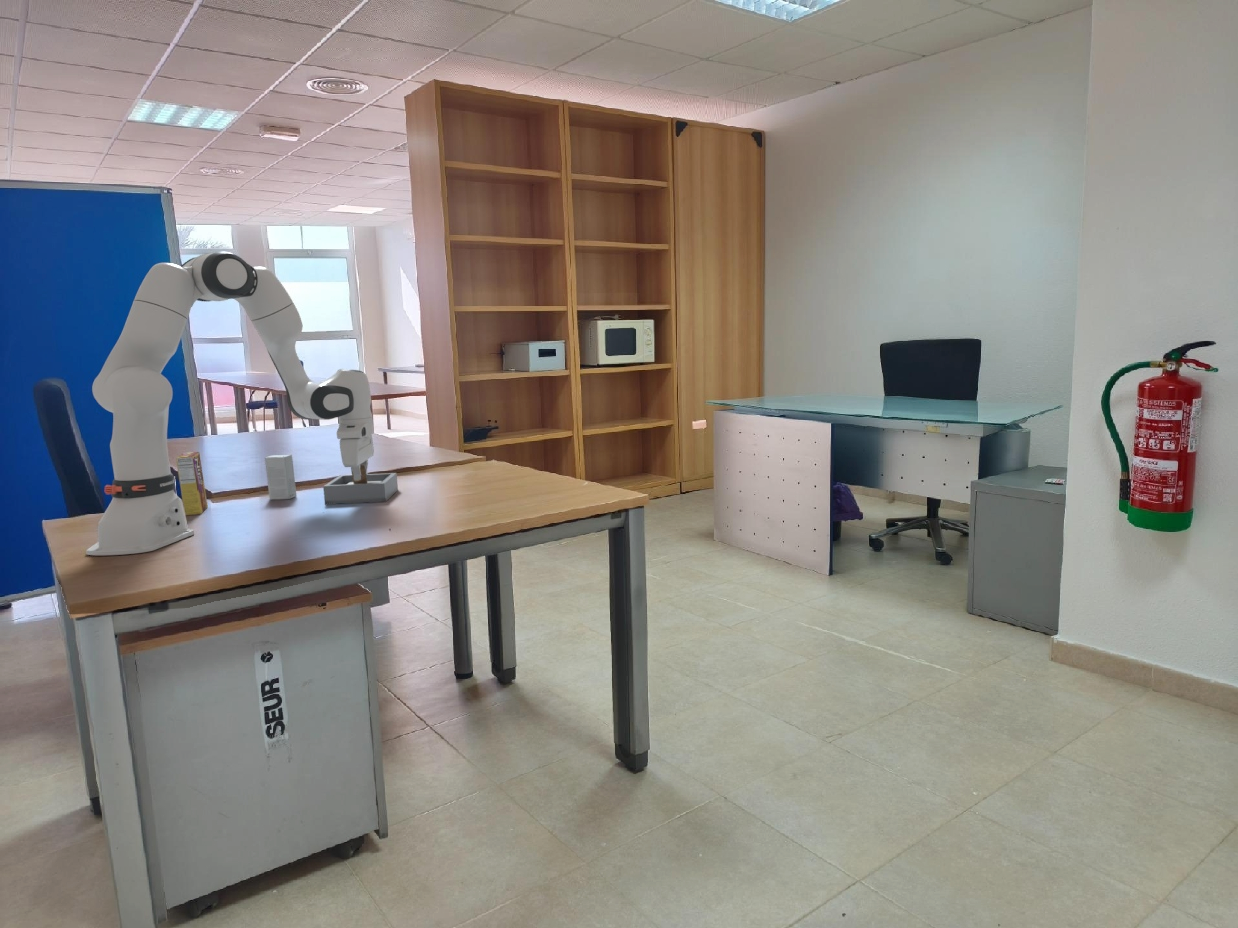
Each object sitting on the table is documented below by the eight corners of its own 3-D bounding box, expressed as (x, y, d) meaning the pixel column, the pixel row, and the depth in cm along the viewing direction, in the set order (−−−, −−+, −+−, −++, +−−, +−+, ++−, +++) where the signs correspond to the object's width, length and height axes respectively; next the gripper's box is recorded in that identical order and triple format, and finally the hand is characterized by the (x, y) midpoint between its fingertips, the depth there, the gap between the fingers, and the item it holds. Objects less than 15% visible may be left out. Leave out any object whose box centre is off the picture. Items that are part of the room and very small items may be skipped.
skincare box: (297, 496, 224) (292, 454, 222) (289, 499, 220) (285, 457, 218) (276, 496, 225) (272, 454, 223) (268, 499, 221) (264, 457, 219)
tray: (385, 501, 213) (384, 483, 212) (324, 504, 212) (323, 486, 211) (397, 489, 228) (396, 472, 228) (341, 492, 227) (339, 475, 227)
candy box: (190, 508, 212) (183, 452, 210) (208, 507, 213) (201, 451, 211) (182, 515, 204) (175, 457, 201) (201, 514, 205) (194, 456, 202)
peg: (367, 493, 218) (362, 466, 217) (354, 495, 218) (349, 468, 217) (370, 490, 222) (365, 464, 220) (357, 492, 221) (352, 466, 220)
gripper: (354, 424, 227) (358, 471, 229) (334, 433, 207) (339, 485, 209) (377, 423, 227) (381, 471, 230) (359, 432, 207) (363, 484, 209)
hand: (361, 478), depth 219 cm, fingers open, 5 cm apart
